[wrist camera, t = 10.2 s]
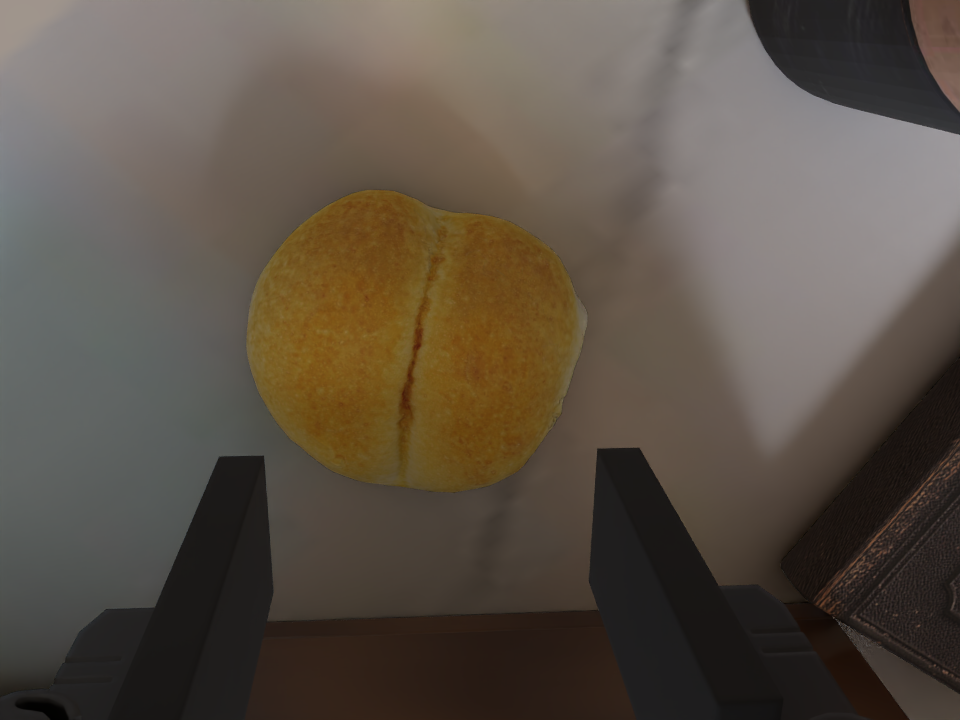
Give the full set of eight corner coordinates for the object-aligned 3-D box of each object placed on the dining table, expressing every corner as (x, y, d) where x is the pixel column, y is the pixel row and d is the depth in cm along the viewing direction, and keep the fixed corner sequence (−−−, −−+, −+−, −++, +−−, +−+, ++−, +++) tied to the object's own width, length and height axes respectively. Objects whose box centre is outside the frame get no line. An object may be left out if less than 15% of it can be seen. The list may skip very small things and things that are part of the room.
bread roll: (280, 159, 25) (259, 182, 21) (598, 235, 26) (632, 269, 22) (230, 436, 27) (203, 501, 23) (522, 492, 28) (541, 561, 25)
